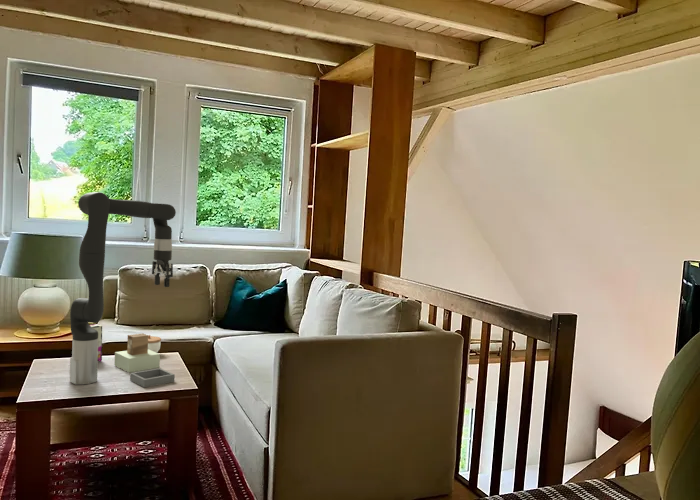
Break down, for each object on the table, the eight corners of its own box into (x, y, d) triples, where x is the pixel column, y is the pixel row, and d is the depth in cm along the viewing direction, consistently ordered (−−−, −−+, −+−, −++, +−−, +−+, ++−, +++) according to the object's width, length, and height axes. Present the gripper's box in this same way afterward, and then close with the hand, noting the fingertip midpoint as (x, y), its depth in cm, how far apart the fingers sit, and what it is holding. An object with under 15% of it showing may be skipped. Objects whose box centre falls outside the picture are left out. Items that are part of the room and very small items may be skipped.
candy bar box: (96, 359, 260) (97, 323, 259) (102, 361, 257) (103, 325, 256) (72, 363, 251) (72, 326, 250) (77, 365, 248) (78, 328, 247)
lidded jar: (138, 357, 265) (138, 338, 265) (135, 352, 275) (136, 333, 274) (161, 356, 270) (162, 337, 269) (159, 351, 280) (159, 332, 279)
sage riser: (128, 372, 241) (129, 358, 240) (114, 365, 250) (114, 352, 250) (159, 367, 251) (159, 354, 250) (144, 360, 260) (145, 348, 260)
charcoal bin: (143, 387, 222) (144, 379, 221) (130, 380, 230) (130, 373, 230) (174, 381, 231) (174, 374, 231) (160, 375, 239) (160, 368, 239)
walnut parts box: (147, 353, 251) (148, 335, 251) (131, 355, 246) (132, 337, 245) (142, 350, 254) (142, 333, 254) (126, 353, 249) (127, 335, 249)
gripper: (178, 250, 248) (177, 287, 249) (162, 248, 258) (161, 283, 259) (162, 250, 242) (161, 288, 243) (147, 248, 252) (146, 284, 253)
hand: (161, 285), depth 251 cm, fingers open, 8 cm apart
